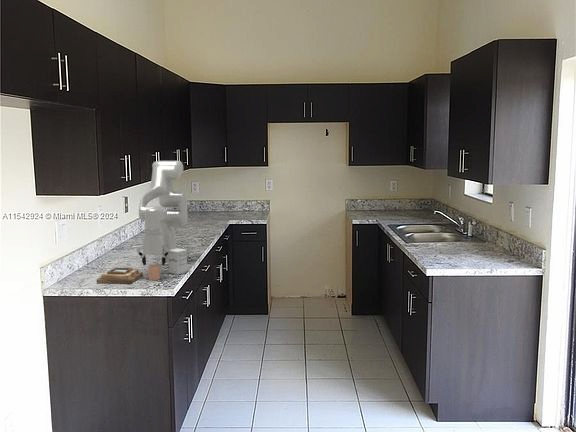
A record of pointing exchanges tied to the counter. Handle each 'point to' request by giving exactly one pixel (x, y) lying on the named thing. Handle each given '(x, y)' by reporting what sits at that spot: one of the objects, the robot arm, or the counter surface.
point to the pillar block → (154, 272)
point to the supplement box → (177, 261)
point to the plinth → (109, 281)
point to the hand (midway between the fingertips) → (154, 264)
